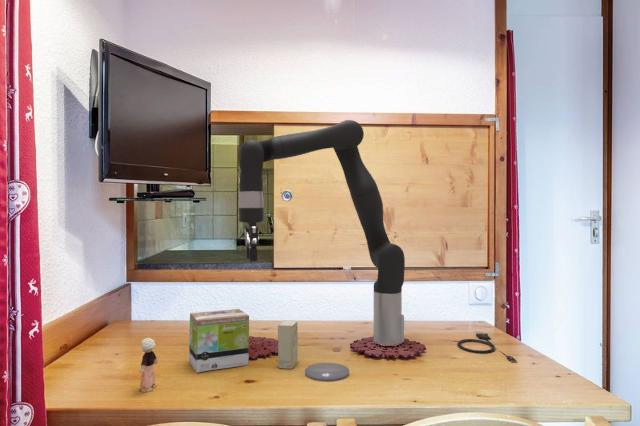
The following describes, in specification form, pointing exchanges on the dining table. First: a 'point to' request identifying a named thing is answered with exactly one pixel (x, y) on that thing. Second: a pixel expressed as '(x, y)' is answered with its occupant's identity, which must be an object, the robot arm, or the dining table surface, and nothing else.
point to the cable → (483, 337)
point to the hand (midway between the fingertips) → (251, 259)
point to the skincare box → (287, 344)
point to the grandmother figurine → (148, 366)
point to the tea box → (218, 340)
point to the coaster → (327, 371)
